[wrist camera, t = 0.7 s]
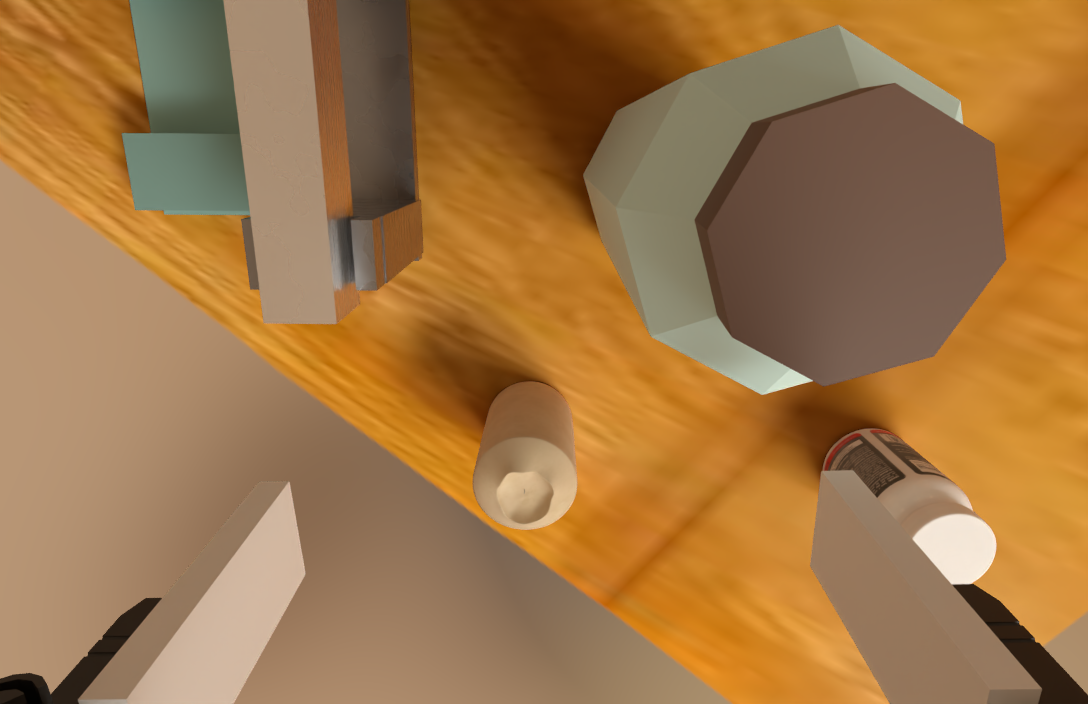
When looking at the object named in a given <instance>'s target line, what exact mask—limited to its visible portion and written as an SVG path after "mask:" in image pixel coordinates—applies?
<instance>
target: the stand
mask: <svg viewBox="0 0 1088 704" xmlns="http://www.w3.org/2000/svg"><path fill="white" fill-rule="evenodd" d="M336 6H337V18H338V31H339V44H340V56H341V69H342V81H343V94H344V107H345V119H346V132H347V144H348V157H349V170H350V182H351V195H352V208H353V219H352V220H351V231H352V244H353V256H354V268H355V281H356V290H378V289H379V288H380V287H382V286H383V285H384V284H385V283H388V282H389V281H390V280H391V279H392V278H393V277H395V276H396V275H397V274H398V273H399V272H401V271H402V270H403V269H404V268H405V267H406V266H408V265H409V264H410V263H411V262H412V261H419V260H420V259H421V258H422V253H423V234H422V213H421V200H419V190H418V169H417V149H416V129H415V109H414V89H413V69H412V48H411V28H410V8H409V0H336ZM241 221H242V228H243V236H244V244H245V251H246V259H247V267H248V275H249V282H250V289H259V281H258V273H257V265H256V257H255V249H254V241H253V233H252V225H251V217H248V218H244V219H241Z"/></svg>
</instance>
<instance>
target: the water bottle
mask: <svg viewBox="0 0 1088 704" xmlns="http://www.w3.org/2000/svg"><path fill="white" fill-rule="evenodd" d="M583 177H584V180H585V184H586V187H587V191H588V195H589V198H590V202H591V205H592V209H593V212H594V216H595V219H596V223H597V227H598V230H599V234H600V237H601V241H602V243H603V245H604V246H605V248H606V250H607V252H608V254H609V256H610V258H611V260H612V262H613V264H614V266H615V268H616V270H617V272H618V274H619V276H620V278H621V280H622V282H623V284H624V285H625V287H626V289H627V291H628V293H629V295H630V297H631V299H632V301H633V303H634V305H635V307H636V309H637V311H638V313H639V315H640V317H641V319H642V321H643V323H644V324H645V326H646V328H647V330H648V332H649V334H650V336H651V337H653V338H654V339H656V340H658V341H660V342H662V343H664V344H666V345H668V346H670V347H672V348H674V349H675V350H677V351H679V352H681V353H683V354H685V355H687V356H689V357H691V358H693V359H695V360H696V361H698V362H700V363H702V364H704V365H706V366H708V367H710V368H712V369H714V370H716V371H717V372H719V373H721V374H723V375H725V376H727V377H729V378H731V379H733V380H735V381H737V382H738V383H740V384H742V385H744V386H746V387H748V388H750V389H752V390H754V391H756V392H758V393H759V394H761V395H763V394H767V393H771V392H774V391H778V390H782V389H785V388H789V387H793V386H796V385H800V384H803V383H807V382H811V381H815V382H816V383H818V384H820V385H822V386H827V385H831V384H835V383H838V382H842V381H846V380H849V379H853V378H857V377H860V376H864V375H868V374H871V373H875V372H879V371H882V370H886V369H890V368H893V367H897V366H901V365H904V364H908V363H911V362H915V361H919V360H922V359H926V358H930V357H933V356H935V354H936V353H937V351H938V350H939V349H940V347H941V346H942V345H943V343H944V342H945V341H946V339H947V338H948V337H949V335H950V334H951V333H952V331H953V330H954V329H955V327H956V326H957V325H958V323H959V322H960V321H961V319H962V318H963V317H964V315H965V314H966V313H967V311H968V310H969V309H970V307H971V306H972V304H973V303H974V302H975V300H976V299H977V298H978V296H979V295H980V294H981V292H982V291H983V290H984V288H985V287H986V286H987V284H988V283H989V282H990V280H991V279H992V278H993V276H994V275H995V274H996V272H997V271H998V270H999V268H1000V267H1001V266H1002V264H1003V263H1004V262H1005V260H1006V253H1005V244H1004V234H1003V224H1002V214H1001V205H1000V195H999V185H998V175H997V166H996V156H995V146H994V143H992V142H991V141H989V140H987V139H986V138H984V137H983V136H981V135H979V134H978V133H976V132H974V131H973V130H971V129H970V128H968V127H966V126H965V125H963V119H962V110H961V102H960V100H958V99H957V98H955V97H954V96H952V95H950V94H949V93H947V92H946V91H944V90H942V89H941V88H939V87H937V86H936V85H934V84H933V83H931V82H929V81H928V80H926V79H925V78H923V77H921V76H920V75H918V74H917V73H915V72H913V71H912V70H910V69H908V68H907V67H905V66H904V65H902V64H900V63H899V62H897V61H896V60H894V59H892V58H891V57H889V56H888V55H886V54H884V53H883V52H881V51H880V50H878V49H876V48H875V47H873V46H871V45H870V44H868V43H867V42H865V41H863V40H862V39H860V38H859V37H857V36H855V35H854V34H852V33H851V32H849V31H847V30H846V29H844V28H842V27H841V26H839V25H837V26H833V27H830V28H827V29H824V30H821V31H818V32H815V33H812V34H809V35H806V36H803V37H800V38H797V39H794V40H791V41H788V42H784V43H781V44H778V45H775V46H772V47H769V48H766V49H763V50H760V51H757V52H754V53H751V54H748V55H745V56H742V57H739V58H736V59H732V60H729V61H726V62H723V63H720V64H717V65H714V66H711V67H708V68H705V69H702V70H699V71H696V72H693V73H690V74H688V75H686V76H684V77H682V78H680V79H678V80H676V81H674V82H672V83H670V84H668V85H666V86H664V87H662V88H660V89H658V90H656V91H654V92H652V93H651V94H649V95H647V96H645V97H643V98H641V99H639V100H637V101H635V102H633V103H631V104H629V105H627V106H625V107H623V108H621V109H619V110H617V111H616V113H615V115H614V117H613V119H612V121H611V123H610V125H609V127H608V129H607V130H606V132H605V134H604V136H603V138H602V140H601V142H600V144H599V146H598V147H597V149H596V151H595V153H594V155H593V157H592V159H591V161H590V163H589V164H588V166H587V168H586V170H585V172H584V174H583Z"/></svg>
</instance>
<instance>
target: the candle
mask: <svg viewBox="0 0 1088 704" xmlns="http://www.w3.org/2000/svg"><path fill="white" fill-rule="evenodd" d="M473 490H474V494H475V497H476V500H477V502H478V503H479V505H480V507H481V508H482V510H483V511H484V512H485V513H486V514H487V515H488V516H489V517H491V518H492V519H493V520H495V521H496V522H498V523H500V524H502V525H504V526H507V527H510V528H515V529H522V530H529V529H537V528H541V527H544V526H547V525H549V524H551V523H553V522H555V521H556V520H558V519H559V518H561V517H562V516H563V515H564V514H565V513H566V512H567V510H568V509H569V508H570V506H571V505H572V503H573V501H574V498H575V495H576V491H577V472H576V459H575V445H574V432H573V421H572V414H571V411H570V408H569V406H568V404H567V402H566V400H565V399H564V397H563V396H562V395H561V394H560V393H559V392H558V391H557V390H555V389H554V388H552V387H550V386H549V385H546V384H544V383H540V382H534V381H525V382H519V383H515V384H513V385H511V386H509V387H507V388H505V389H504V390H503V391H501V392H500V393H499V394H498V395H497V397H496V398H495V399H494V401H493V402H492V404H491V406H490V409H489V412H488V415H487V419H486V423H485V428H484V432H483V436H482V440H481V444H480V449H479V453H478V457H477V461H476V466H475V470H474V474H473Z"/></svg>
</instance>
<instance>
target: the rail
mask: <svg viewBox="0 0 1088 704" xmlns="http://www.w3.org/2000/svg"><path fill="white" fill-rule="evenodd" d="M223 1H224V9H225V17H226V25H227V33H228V41H229V49H230V57H231V65H232V73H233V81H234V89H235V97H236V105H237V113H238V121H239V129H240V137H241V145H242V153H243V161H244V169H245V177H246V185H247V193H248V201H249V209H250V217H251V225H252V233H253V241H254V249H255V257H256V265H257V273H258V281H259V289H260V297H261V305H262V313H263V321H264V323H286V324H337V323H338V322H340V321H341V320H342V319H343V318H344V317H346V316H347V315H348V314H349V313H350V312H351V311H353V310H354V309H355V308H356V307H357V306H359V305H360V296H359V290H356V281H355V268H354V256H353V244H352V231H351V220H352V219H353V208H352V195H351V182H350V170H349V157H348V144H347V132H346V119H345V107H344V94H343V81H342V69H341V56H340V44H339V31H338V18H337V6H336V0H223Z"/></svg>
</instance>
